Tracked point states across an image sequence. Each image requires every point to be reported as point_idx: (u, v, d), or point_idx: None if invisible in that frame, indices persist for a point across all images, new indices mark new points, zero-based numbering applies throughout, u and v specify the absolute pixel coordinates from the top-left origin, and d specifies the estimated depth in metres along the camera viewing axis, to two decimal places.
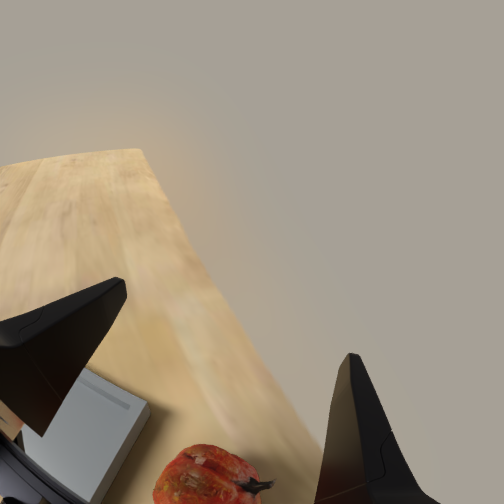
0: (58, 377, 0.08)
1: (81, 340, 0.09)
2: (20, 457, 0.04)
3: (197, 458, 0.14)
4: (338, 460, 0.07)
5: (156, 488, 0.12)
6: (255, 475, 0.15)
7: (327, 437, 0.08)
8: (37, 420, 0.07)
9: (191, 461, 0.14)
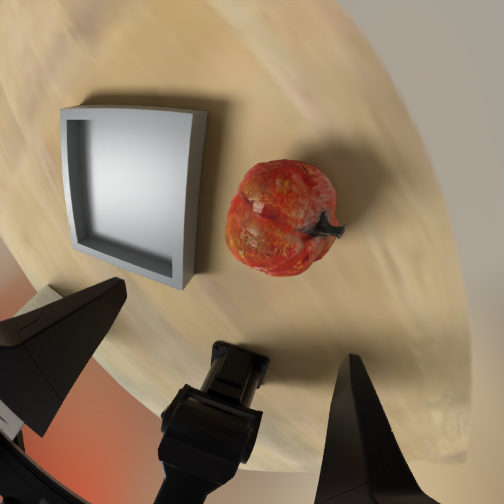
0: (58, 377, 0.08)
1: (81, 340, 0.09)
2: (20, 457, 0.04)
3: (255, 203, 0.15)
4: (338, 460, 0.07)
5: (225, 237, 0.18)
6: (330, 201, 0.16)
7: (327, 437, 0.08)
8: (37, 420, 0.07)
9: (249, 208, 0.15)
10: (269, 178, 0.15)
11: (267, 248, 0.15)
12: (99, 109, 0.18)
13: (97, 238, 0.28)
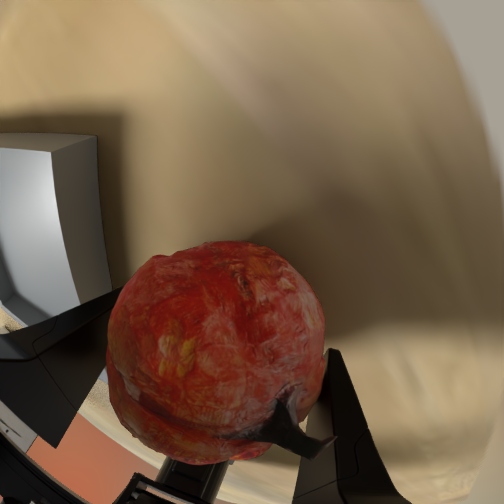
0: (73, 387, 0.08)
1: (97, 349, 0.09)
2: (20, 457, 0.04)
3: (125, 380, 0.06)
4: None
5: None
6: (305, 362, 0.07)
7: (306, 433, 0.08)
8: (51, 432, 0.07)
9: (120, 380, 0.06)
10: (145, 332, 0.06)
11: (165, 453, 0.06)
12: None
13: (22, 299, 0.18)
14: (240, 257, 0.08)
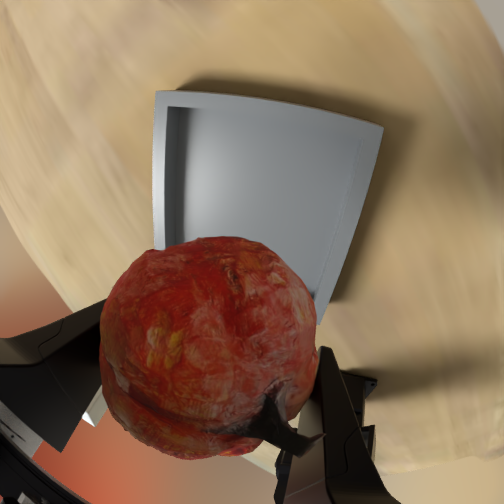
0: (79, 391, 0.08)
1: None
2: (20, 457, 0.04)
3: (115, 372, 0.06)
4: None
5: None
6: (295, 357, 0.07)
7: (298, 431, 0.08)
8: (57, 436, 0.07)
9: (111, 372, 0.06)
10: (134, 324, 0.06)
11: (154, 446, 0.06)
12: (234, 97, 0.15)
13: None
14: (231, 252, 0.08)
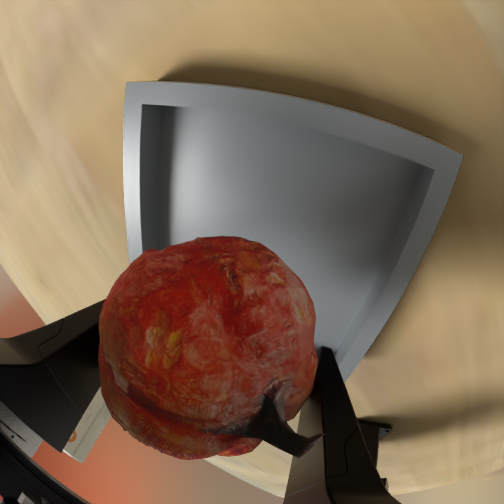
0: (79, 392, 0.08)
1: None
2: (20, 457, 0.04)
3: (114, 372, 0.06)
4: (305, 454, 0.07)
5: None
6: (294, 357, 0.07)
7: (298, 431, 0.08)
8: (57, 436, 0.07)
9: (110, 372, 0.06)
10: (133, 323, 0.06)
11: (153, 446, 0.06)
12: (243, 91, 0.09)
13: None
14: (230, 251, 0.08)
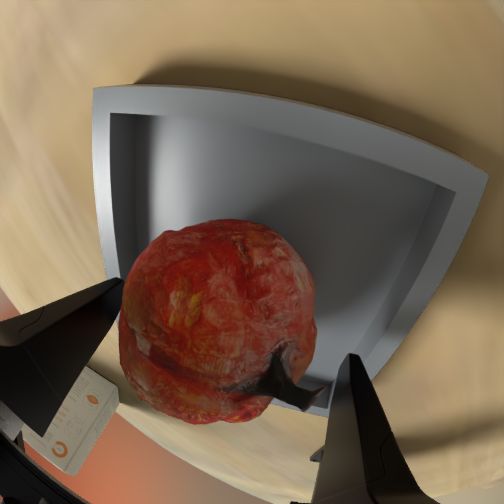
0: (58, 377, 0.08)
1: (81, 340, 0.09)
2: (20, 457, 0.04)
3: (137, 336, 0.07)
4: (338, 460, 0.07)
5: None
6: (297, 321, 0.08)
7: (327, 437, 0.08)
8: (37, 420, 0.07)
9: (132, 338, 0.07)
10: (158, 289, 0.07)
11: (169, 410, 0.07)
12: (223, 94, 0.08)
13: None
14: (240, 230, 0.09)
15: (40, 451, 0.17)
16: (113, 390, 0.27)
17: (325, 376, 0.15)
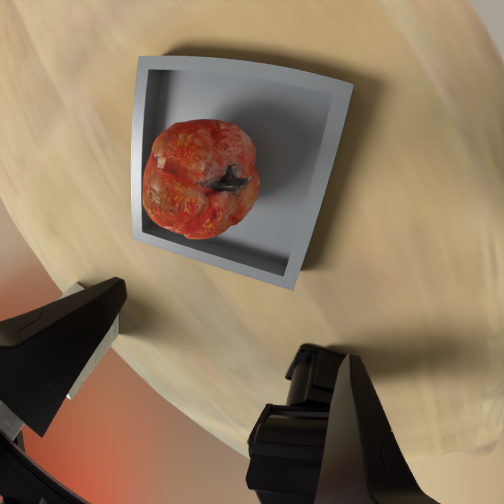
0: (58, 377, 0.08)
1: (81, 340, 0.09)
2: (20, 457, 0.04)
3: (158, 159, 0.14)
4: (338, 460, 0.07)
5: None
6: (241, 155, 0.15)
7: (327, 437, 0.08)
8: (37, 420, 0.07)
9: (154, 164, 0.14)
10: (173, 133, 0.14)
11: (169, 204, 0.14)
12: (209, 58, 0.14)
13: None
14: (215, 120, 0.16)
15: None
16: None
17: (282, 253, 0.22)
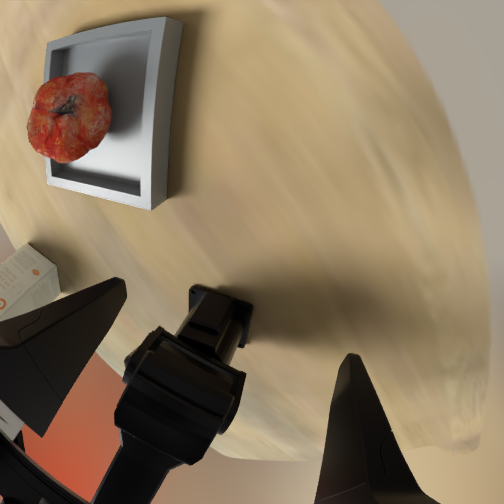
0: (58, 377, 0.08)
1: (81, 340, 0.09)
2: (20, 457, 0.04)
3: (34, 103, 0.14)
4: (338, 460, 0.07)
5: None
6: (82, 89, 0.15)
7: (327, 437, 0.08)
8: (37, 420, 0.07)
9: (33, 107, 0.14)
10: (44, 84, 0.14)
11: (33, 129, 0.14)
12: (81, 32, 0.15)
13: (72, 171, 0.24)
14: None
15: None
16: (53, 267, 0.34)
17: None
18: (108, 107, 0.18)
